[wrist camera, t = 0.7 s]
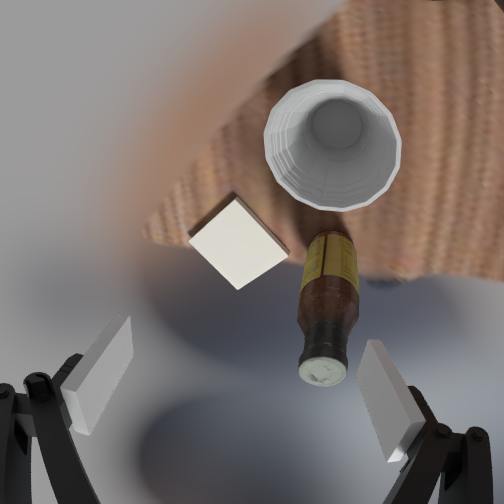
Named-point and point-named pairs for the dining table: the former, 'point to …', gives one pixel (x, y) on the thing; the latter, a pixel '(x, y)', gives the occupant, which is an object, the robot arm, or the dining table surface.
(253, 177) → the dining table surface
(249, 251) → the cream pad
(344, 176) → the plastic cup
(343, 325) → the sauce bottle
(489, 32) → the dining table surface
